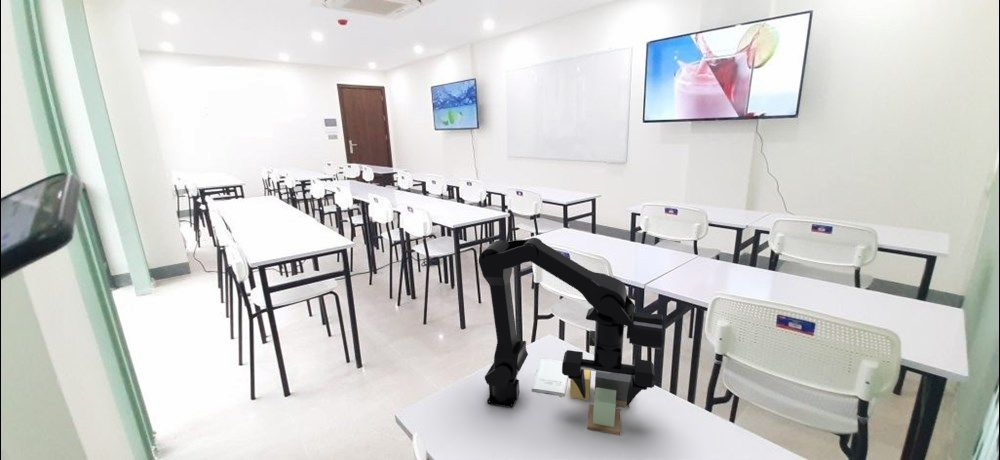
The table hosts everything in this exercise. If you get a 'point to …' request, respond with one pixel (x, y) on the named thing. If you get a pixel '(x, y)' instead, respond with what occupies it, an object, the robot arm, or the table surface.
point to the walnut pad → (604, 428)
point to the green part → (604, 407)
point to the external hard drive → (550, 378)
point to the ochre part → (575, 390)
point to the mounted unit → (614, 385)
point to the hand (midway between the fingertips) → (605, 400)
